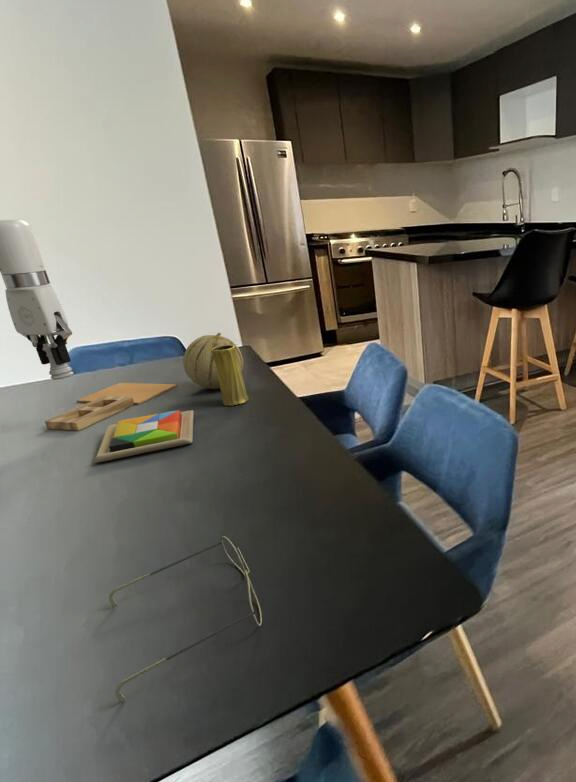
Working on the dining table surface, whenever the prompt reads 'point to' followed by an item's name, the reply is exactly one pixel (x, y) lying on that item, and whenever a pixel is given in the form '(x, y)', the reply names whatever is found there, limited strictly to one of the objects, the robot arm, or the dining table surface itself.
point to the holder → (89, 413)
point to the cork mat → (131, 391)
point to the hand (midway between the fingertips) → (56, 362)
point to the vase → (229, 375)
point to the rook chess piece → (56, 366)
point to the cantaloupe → (206, 360)
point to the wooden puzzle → (146, 435)
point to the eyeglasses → (113, 604)
